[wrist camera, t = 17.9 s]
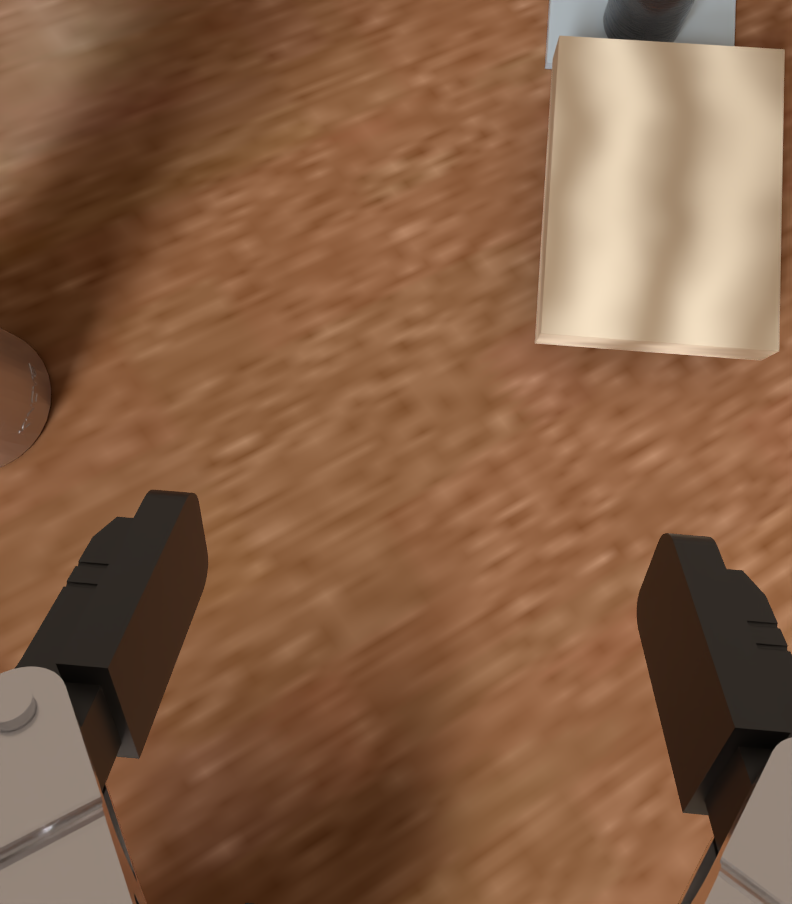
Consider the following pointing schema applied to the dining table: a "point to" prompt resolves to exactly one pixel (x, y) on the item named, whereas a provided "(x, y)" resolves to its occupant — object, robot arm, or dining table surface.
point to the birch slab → (663, 198)
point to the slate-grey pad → (581, 15)
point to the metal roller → (645, 19)
